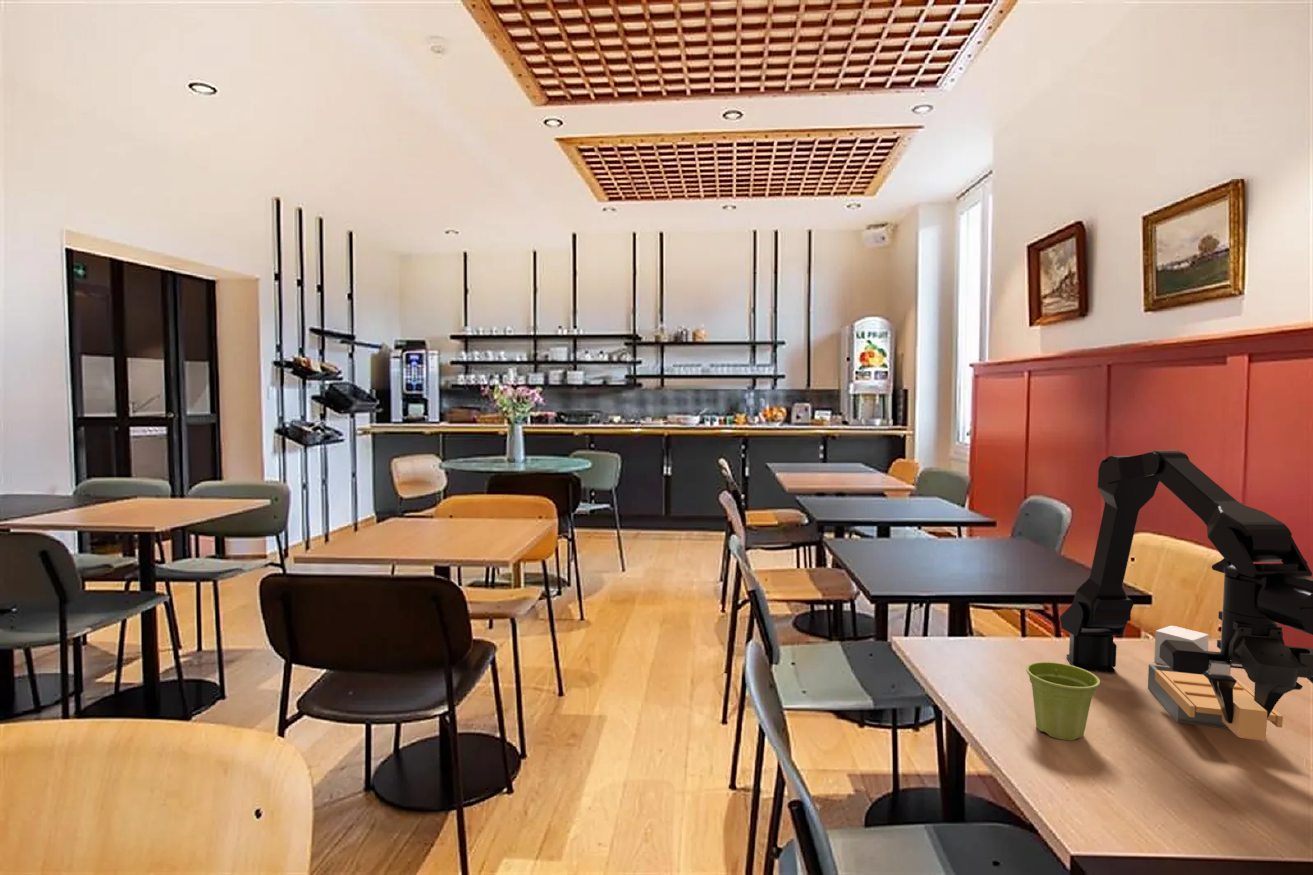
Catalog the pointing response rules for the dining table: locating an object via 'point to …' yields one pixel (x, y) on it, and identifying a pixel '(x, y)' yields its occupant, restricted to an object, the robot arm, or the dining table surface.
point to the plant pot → (1061, 698)
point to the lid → (1201, 697)
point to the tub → (1173, 707)
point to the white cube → (1178, 639)
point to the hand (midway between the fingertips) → (1243, 724)
